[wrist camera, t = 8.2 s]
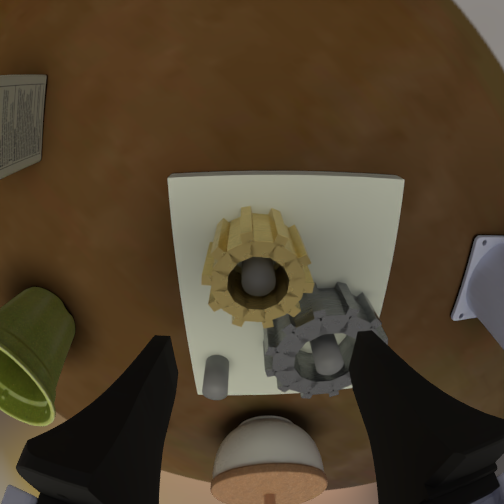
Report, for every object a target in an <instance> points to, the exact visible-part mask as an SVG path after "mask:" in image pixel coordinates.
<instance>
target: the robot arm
mask: <svg viewBox="0 0 504 504" xmlns="http://www.w3.org/2000/svg"><path fill="white" fill-rule="evenodd" d="M483 241H484V242H483ZM482 242H483V243H482ZM476 317H477V318H478V319H479V320H480V321H481V322H482V324H483V325H484V326H485V327H486V328H487V330H488V331H489V332H490V333H491V335H492V336H493V337H494V338H495V339H496V341H497V342H498V343H499V345H500V346H501V347H502V348H503V350H504V236H497V235H478V236H477V237H476V238H475V239H474V242H473V246H472V250H471V254H470V258H469V261H468V265H467V268H466V272H465V275H464V279H463V282H462V285H461V288H460V291H459V294H458V297H457V300H456V303H455V306H454V309H453V312H452V314H451V318H452V319H453V320H454V321H457V320H464V319H470V318H476ZM349 373H350V378H351V383H352V388H353V391H354V394H355V397H356V400H357V403H358V406H359V409H360V412H361V415H362V418H363V421H364V424H365V427H366V430H367V433H368V436H369V440H370V444H371V449H372V455H373V460H374V466H375V473H376V480H377V490H378V500H379V501H378V502H379V504H504V472H503V473H502V474H500V475H499V476H497V477H496V475H495V473H494V472H495V471H496V470H497V465H496V463H495V462H496V461H497V460H498V459H499V458H500V457H501V455H502V454H503V453H504V419H501V418H498V417H495V416H492V415H489V414H486V413H484V412H481V411H479V410H477V409H474V408H472V407H470V406H468V405H466V404H464V403H462V402H460V401H458V400H457V399H455V398H453V397H451V396H450V395H448V394H446V393H445V392H443V391H442V390H440V389H439V388H437V387H436V386H434V385H433V384H431V383H430V382H429V381H427V380H426V379H425V378H424V377H422V376H421V375H420V374H419V373H417V372H416V371H415V370H414V369H413V368H411V367H410V366H409V365H408V364H407V363H406V362H405V361H404V360H403V359H401V358H400V357H399V356H398V355H397V354H396V353H395V352H394V351H393V350H392V349H391V348H390V347H389V346H388V345H387V344H386V343H385V342H384V341H383V340H382V339H381V338H380V337H379V336H378V335H376V334H375V333H374V332H373V331H372V330H369V331H358V332H357V336H356V341H355V345H354V349H353V353H352V357H351V360H350V364H349ZM177 379H178V369H177V365H176V361H175V356H174V352H173V347H172V343H171V338H170V336H157V335H155V336H154V337H153V338H152V339H151V340H150V342H149V343H148V344H147V345H146V347H145V348H144V349H143V350H142V352H141V353H140V354H139V355H138V356H137V358H136V359H135V360H134V361H133V362H132V364H131V365H130V366H129V367H128V368H127V369H126V370H125V372H124V373H123V374H122V375H121V376H120V377H119V378H118V379H117V380H116V381H115V382H114V383H113V384H112V385H111V386H110V387H109V388H108V389H107V390H106V391H105V392H104V393H103V394H102V395H101V396H99V397H98V398H97V399H96V400H95V401H94V402H92V403H91V404H90V405H89V406H87V407H86V408H84V409H83V410H82V411H80V412H79V413H78V414H76V415H75V416H73V417H72V418H70V419H69V420H67V421H65V422H64V423H62V424H60V425H59V426H57V427H55V428H53V429H51V430H49V431H47V432H45V433H43V434H41V435H38V436H36V437H34V438H32V439H29V440H28V441H27V443H26V445H25V447H24V449H23V451H22V454H21V456H20V459H19V461H18V463H17V466H16V469H17V471H18V473H19V474H20V475H21V476H22V477H23V478H24V479H25V480H26V481H27V482H28V483H29V484H30V485H32V486H33V487H34V488H35V489H37V490H38V491H39V492H40V495H39V498H37V497H35V496H33V495H31V494H29V493H27V492H25V491H23V490H20V489H18V488H16V487H14V486H12V485H8V486H7V489H6V492H5V495H4V497H3V500H2V503H1V504H159V486H160V472H161V462H162V452H163V446H164V440H165V436H166V432H167V428H168V424H169V420H170V416H171V412H172V408H173V404H174V399H175V395H176V388H177Z"/></svg>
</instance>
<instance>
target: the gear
mask: <svg viewBox="0 0 504 504" xmlns="http://www.w3.org/2000/svg"><path fill="white" fill-rule="evenodd" d="M299 304H300V308H301V312H299V313H298V314H297V315H296V316H295V317H292V316H291V315H290V314H286V315H284V316H281V317H278V318H276V319H273V325H274V327H270V328H264V329H263V332H264V341H263V351H264V366H265V372H266V375H267V377H271V376H275V377H276V378H277V388H278V389H279V390H281V391H282V392H284V393H285V392H286V391H288V390H289V389H290V390H293V391H297V392H300V394H301V398H309V399H310V398H311V396H312V395H313V394H324V393H329V397H331V396H335V395H338V394H339V393H338V390H341V389H343V388H345V387H347V386H350V385H352V383H351V378H350V373H349V364H350V360H351V357H352V353H353V349H354V345H355V341H356V336H357V332H358V331H369V330H372V331H373V332H374V333H375V334H376V335H378V336H379V337H380V338H381V339H382V340H383V341H384V342H385V343H386V344H387V345H388V338H387V336H386V334H385V332H384V330H383V328H382V326H381V324H382V323H381V321H380V319H379V317H378V316H377V314H376V312H375V310H374V308H373V307H372V305H371V303H370V301H369V299H368V298H367V297H366V296H365V294H364V293H363V292H362V293H360V294H359V295H358V296H357V297H356V296H355V295H353V294H351V292H350V290H349V288H348V286H347V284H346V283H341V282H337V283H336V285H335V287H334V288H317V285H316V283H314V288H313V292H312V293H303V295H302V298H301V300H300V301H299ZM336 333H343V334H346V335H347V336H346V337H345V338H344V339H343V340H342V341H341V343H340V344H339V345H338V347H339V349H340V352H341V355H342V358H343V362H344V364H343V367H342V368H341V370H339V371H338V372H337V373H335V374H332V375H321V374H319V373H318V372H317V370H316V366H315V362H314V358H313V354H312V353H307V352H304V351H302V350H300V349H301V348H302V347H303V346H304V345H305V343H306V342H309V341H311V340H313V339H315V338H317V337H319V336H321V335H323V334H336Z"/></svg>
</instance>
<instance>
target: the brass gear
mask: <svg viewBox="0 0 504 504" xmlns="http://www.w3.org/2000/svg"><path fill="white" fill-rule="evenodd" d="M251 257H264V258H271V259H273V260H274V261H276V263H275V264H274V265H273V266H274V272H275V278H276V284H275V287H274V289H273V290H272V291H271V292H270V293H268V294H266V295H264V296H253V295H250V294H248V293H247V292H246V291H245V290H244V289H243V287H242V283H241V280H242V268H241V267H239V266H237V263H239V262H241V261H244V260H246V259H249V258H251ZM309 264H311V261H310V258H309V256H308V253H307V251H306V248H305V246H304V243H303V241H302V238H301V236H300V233H299V231H298V229H297V227H296V226H295V224H294V225H293V226H291V227H289V228H288V227H287V226H286V225H285V224H284V222H283V219H282V215H281V212H280V211H278V210H276V209H273V208H271V209H270V211H269V214H257V213H252V210H251V206H247V207H242V208H241V217H238V218H236V219H234V220H232V221H230V222H228V221H227V220H225V219H224V218H223V219H222V220H221V221H220V222H219V223H218V224H217V227H216V231H215V236H214V240H213V242H210V243H209V247H208V251H207V255H206V259H205V263H204V267H203V272H202V281H201V285H209V286H211V290H210V296H209V301H208V305H209V306H210V307H211V309H212V310H213V311H214V312H215V311H217V310H219V309H223V311H225V312H227V313H228V314H230V315H232V324H233V325H236V326H239V327H242V325H243V323H244V322H245V321H251V322H262V325H263V329H264V328H270V327H274V325H273V319H276V318H278V317H281V316H284V315H286V314H290V315H291V316H292V317H295V316H296V315H297V314H298V313H299V312H301V308H300V304H299V301H300V300H301V298H302V295H303V293H312V292H313V288H314V281H313V279H312V276H311V273H310V270H309V268H308V265H309Z"/></svg>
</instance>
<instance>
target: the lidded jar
mask: <svg viewBox="0 0 504 504" xmlns="http://www.w3.org/2000/svg"><path fill="white" fill-rule="evenodd" d="M327 484H328V483H327V478H326V474H325V473H324V468H323V463H322V459H321V456H320V453H319V450H318V448H317V446H316V444H315V442H314V441H313V439H312V438H311V437H310V435H309V434H308V433H307V432H305V431H304V430H303V429H302V428H300V427H299V426H297V425H295V424H293V422H291V421H290V420H288V419H286V418H284V417H280V416H273V415H264V416H257V417H253V418H250V419H247V420H245V421H243V422H242V423H241V424H240V425H239V426H238V427H237V428H236V429H234V430H233V431H232V432H230V433H229V434H228V435H227V436H226V438H225V439H224V440H223V442H222V443H221V445H220V447H219V449H218V452H217V454H216V458H215V462H214V467H213V479H212V482H211V493H212V495H213V496H214V497H215V498H216V499H218V500H219V501H221V502H224V503H226V504H299V503H302V502H306V501H308V500H310V499H313V498H315V497H317V496H318V495H320V494H321V493H322V492H323V491H324V490H325V489H326V487H327Z"/></svg>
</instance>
